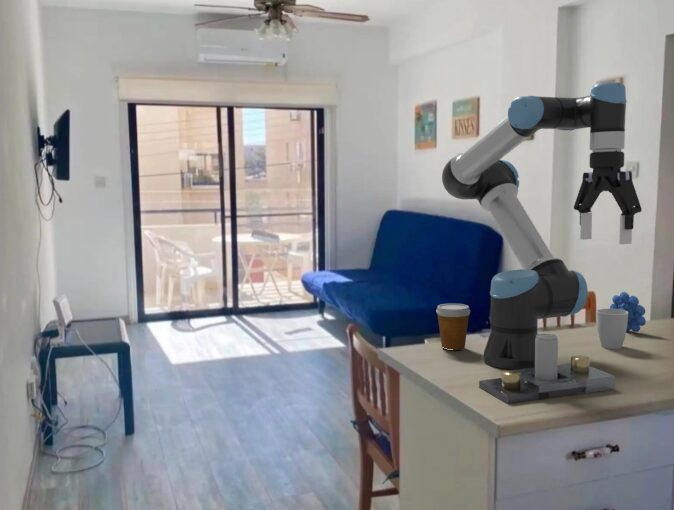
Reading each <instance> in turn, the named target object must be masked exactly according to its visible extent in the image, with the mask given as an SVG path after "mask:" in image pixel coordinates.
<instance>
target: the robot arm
mask: <svg viewBox="0 0 674 510" xmlns="http://www.w3.org/2000/svg"><path fill="white" fill-rule="evenodd" d="M626 92H627V91H626V86H625V84H624V83H622V82H603V83H597V84H594V85H592V87H591V89H590V94H589V95H586V96H582V97H562V96H561V97H560V96H557V97H555V96H535V95H525V96H517V97H515V98H514V99H513V100H512V101H511V102H510V106H508V110H507V116H506V117H505V118H503V119H502V120H501V121H499V123H497V124H496V125H495V126H494V127H492V129H491V130H489V131H488V132H487V133H486V134H484V135H483V136H482V137H481V138H480V139H478V140H477V141H476V142H475V143H473V145H471V146H470V147H469V148H468V149H467V150H465V151H464V152H460V153H456V154H455V155H454V156H453V157H451V159H449V160H448V161H447V163H445V166H444V168H443V169H442V174H441V182H442V184H443V187H444V189H445V191H446V192H447V193H448V194H449V195H450V196H452V197H453V198H456V199H458V200H477V201H478V203H479V205H480V206H481V208H482V210H484V211H487V212H490V214H491V215H492V217H493V219H494V221H495V222H496V224H497V225H498V228H499V229H500V231H501V233H502V235H503V236H504V238H505V240H506V242H507V243H508V245H509V247H510V249H511V251H512V252H513V254H514V257H515V258H516V259H517V262H518V263H519V265H520V266H521V269H517V270H516V269H511V270H506V271H505V270H504V271H501V272H498V273H497V274H495V275H494V276H493V277H492V279H491V283H490V291H489V294H490V332H489V336H488V339H487V341H486V344H485V348H484V351H483V362H484V363H485V364H487V365H489V366H491V367H494V368H495V367H496V368H500V369H507V370H519V369H527V368H535V338H536V335H537V334H539V333H538V324H539V323H538V321H539V320H542V319H543V320H544V319H549V318H550V319H551V318H557V317H558V318H559V317H568V316H570V315H574V314H578V313H579V312H580V311H582V309H583V308H584V307H585V305H586V304H587V300H588V293H589V291H588V290H589V289H588V284H587V281H586V278H585V277H584V275H583V274H582V273H581V272H579V271H575V270H573V269H571V270H569V269H568V268H567V265H566V264H565V263H564V261H563V260H562V259H561V258H559V257H558V258H557V257H554V255H553V254H552V253H551V251H550V249H549V247H548V245H547V244H546V243H545V241H544V239H543V238H542V236H541V234H540V233H539V231H538V229H537V228H536V226H535V224H534V223H533V221H532V219H531V218H530V216H529V215H528V213H527V210H525V208H524V206H523V205H522V202H521V201H520V200H519V197H517V196H518V194H519V186H520V180H519V179H518V178H519V177H520V176H519V173H518V170H517V168H516V167H515V165H514V164H512V163H511V162H510V161H507V160H504V159H502V158H503V157H505V156H507V154H509V153H510V152H511V151H513V150H515V148H516V147H518V146H519V145H521V144H522V143H523V142H524V141H526V140H527V139H528V138H530V137H531V136H533V134H535V133H536V132H538V131H539V130H547V129H548V130H559V131H569V132H570V131H575V130H579V129H586V128H590V129H589V131H590V132H589V133H590V135H589V150H590V151H592V152H590V154H589V168H590V169H592V172H583V174H582V181H581V184H580V187H579V190H578V194H577V196H576V199H575V202H574V205H573V209H574V210H575V211H578V213H579V226H580V234H579V235H580V236H579V237H580V238H579V240H583V241H584V240H592V233H593V231H592V230H593V212H592V208H593V206H594V204H595V203H596V202H597V200H598V199H599V196H600V194H602V193H603V192H608V193H610V194H612V195H611V196H613V197H612V198H613V199H614V201H615V202H616V203H617V206H618V207H619V210H620V211H621V214H620V215H619V239H618V240H619V242H618V243H619V245H632V241H633V240H632V237H633V229H634V225H635V224H634V222H635V221H634V220H635V215H636V214H638V213H641V212H642V211H643V210H642V206H641V202H640V199H639V196H638V195H637V190H636V187H635V185H634V182H633V172H632V171H631V170H629V171H628V170H625V171H622V169H621V168H624V166H625V153H624V151H622V150H624V149H625V144H626V143H625V139H626V138H625V136H626V135H625V131H626V112H627V111H626V110H627V94H626Z"/></svg>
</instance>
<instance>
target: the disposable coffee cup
mask: <svg viewBox="0 0 674 510" xmlns="http://www.w3.org/2000/svg"><path fill="white" fill-rule="evenodd" d="M435 311H436V314H437V320H438V326H439V335H440V343H441V348H442V347H444V348H447V349H453V350H461V351H463V350H462V349H464V348H465V347H466V339H467V333H468V323H469V317H470V313H471V310H470V307H469V305H467V304H463V303H444V304H443V303H441V304H438V305H437V308H436V310H435ZM464 350H465V349H464Z"/></svg>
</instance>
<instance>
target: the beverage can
mask: <svg viewBox="0 0 674 510" xmlns="http://www.w3.org/2000/svg"><path fill="white" fill-rule="evenodd" d="M558 347H559V339H558V336H557V335H556V334H551V333H538V334H537V335H536V338H535V378H536V379H538V380H540V381H549V380H556V379H557V370H558V365H559V364H558V363H559V361H558V360H559V357H558V355H559V348H558Z"/></svg>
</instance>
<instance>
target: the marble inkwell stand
mask: <svg viewBox="0 0 674 510" xmlns="http://www.w3.org/2000/svg"><path fill="white" fill-rule="evenodd" d="M590 359H591V358H590V357H588V356H584V355H572V356H570V362H569V363H562V364H560V363H559V364H558V370H557V379H556V380H549V381H540V380H538V379H536V378H535V368H527V369H507V370H503V371H501V377H498V378H491V379H482V380H478V387H479V389H482V390H483V391H486V392H487V393H489V394H491V396H494V397H495V398H497V399H499V400H501V401H502V402H504V403H505V404H507V405H509V404H517V403H523V402H531V401H540V400H544V399H545V400H546V399H554V398H560V397H561V398H562V397H567V396H573V395H574V396H575V395H581V394H588V393H596V392H603V391H609V390H610V391H612V390H615V383H616V382H615V378H616V377H615V375H613V374H611V373H608V372H605V371H602V370H600V369H598V368H595V367H593V366H590V363H591V362H590V361H591V360H590Z"/></svg>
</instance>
